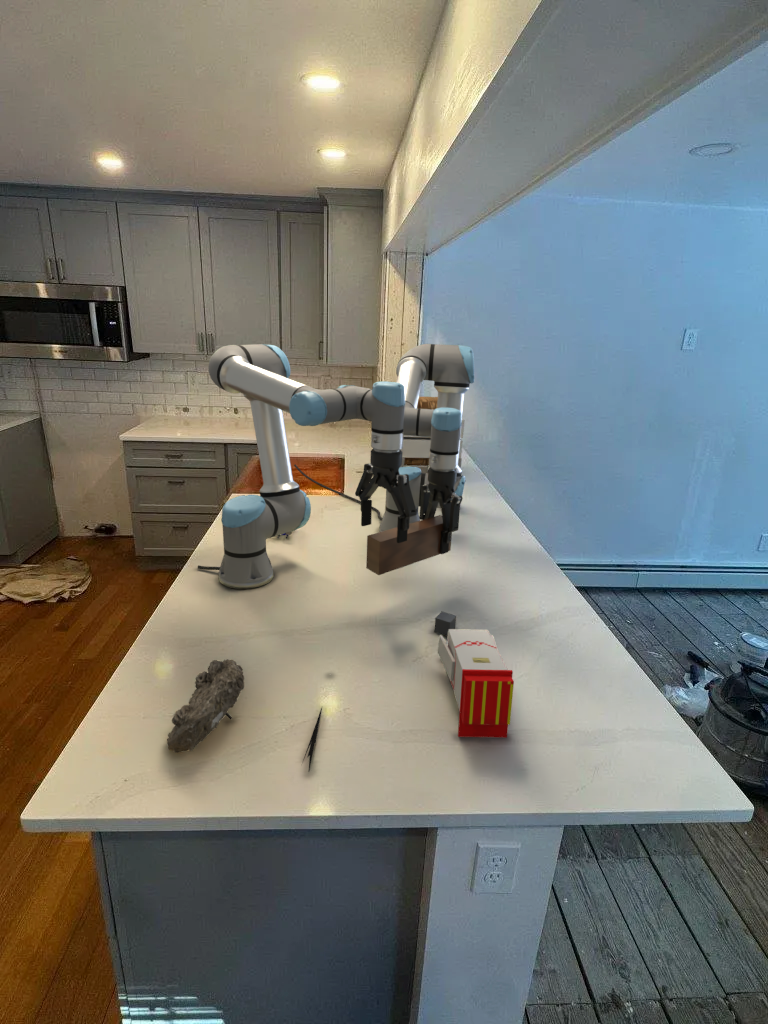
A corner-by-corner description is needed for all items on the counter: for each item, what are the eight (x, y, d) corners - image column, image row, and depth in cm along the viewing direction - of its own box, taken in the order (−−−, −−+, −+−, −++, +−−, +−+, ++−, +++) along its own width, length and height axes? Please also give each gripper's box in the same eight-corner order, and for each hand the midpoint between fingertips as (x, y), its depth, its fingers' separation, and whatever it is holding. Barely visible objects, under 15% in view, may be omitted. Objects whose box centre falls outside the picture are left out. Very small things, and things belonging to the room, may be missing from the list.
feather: (331, 679, 122) (336, 673, 122) (307, 777, 96) (313, 769, 95) (324, 675, 122) (329, 669, 121) (298, 772, 95) (304, 764, 95)
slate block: (434, 632, 140) (435, 617, 139) (440, 624, 143) (441, 610, 142) (448, 636, 138) (450, 622, 137) (455, 629, 142) (456, 615, 140)
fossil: (192, 660, 117) (244, 628, 112) (224, 691, 120) (276, 661, 115) (142, 746, 98) (202, 712, 93) (182, 779, 101) (242, 748, 96)
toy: (488, 613, 130) (523, 677, 101) (484, 667, 133) (517, 744, 104) (435, 612, 130) (455, 676, 101) (432, 666, 133) (451, 743, 103)
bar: (378, 575, 141) (380, 542, 138) (366, 568, 144) (367, 535, 141) (450, 550, 157) (453, 520, 154) (437, 544, 160) (439, 514, 157)
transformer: (382, 463, 289) (386, 382, 275) (445, 464, 293) (451, 384, 279) (390, 482, 257) (394, 392, 243) (460, 483, 261) (468, 394, 247)
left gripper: (342, 441, 140) (341, 521, 147) (411, 462, 122) (406, 552, 130) (365, 437, 145) (363, 515, 152) (435, 458, 127) (429, 545, 134)
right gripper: (408, 462, 153) (404, 541, 161) (458, 478, 140) (450, 564, 148) (428, 458, 157) (423, 536, 165) (478, 474, 145) (470, 557, 153)
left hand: (383, 533), depth 141 cm, fingers open, 13 cm apart
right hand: (436, 549), depth 157 cm, fingers closed on bar, 5 cm apart
